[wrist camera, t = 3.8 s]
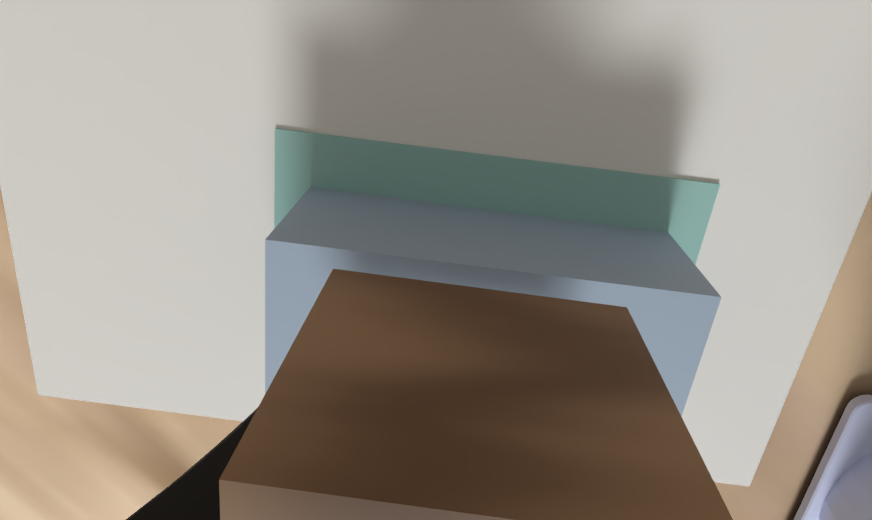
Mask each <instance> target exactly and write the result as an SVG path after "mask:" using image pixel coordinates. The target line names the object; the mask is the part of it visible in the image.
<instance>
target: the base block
mask: <svg viewBox="0 0 872 520" xmlns="http://www.w3.org/2000/svg"><path fill="white" fill-rule="evenodd" d="M333 269H340V270H348V271H355V272H363V273H370V274H378V275H386V276H393V277H401V278H408V279H416V280H424V281H431V282H439V283H446V284H454V285H462V286H469V287H477V288H484V289H492V290H500V291H507V292H515V293H522V294H530V295H538V296H545V297H553V298H560V299H568V300H576V301H583V302H591V303H598V304H606V305H613V306H621V307H627V308H628V310H629V312H630V314H631V316H632V318H633V321H634V323H635V325H636V327H637V329H638V331H639V333H640V335H641V337H642V339H643V341H644V343H645V345H646V347H647V349H648V351H649V353H650V355H651V357H652V359H653V361H654V363H655V365H656V367H657V369H658V371H659V373H660V375H661V377H662V379H663V381H664V383H665V385H666V387H667V389H668V391H669V393H670V395H671V397H672V399H673V401H674V403H675V405H676V407H677V409H678V411H679V413H680V415H681V416H682V413H683V410H684V407H685V404H686V401H687V398H688V395H689V393H690V390H691V387H692V384H693V381H694V378H695V375H696V372H697V369H698V366H699V363H700V360H701V357H702V354H703V351H704V348H705V345H706V342H707V339H708V336H709V333H710V330H711V327H712V324H713V321H714V318H715V315H716V312H717V309H718V306H719V303H720V300H721V298H722V297H721V296H720V295H719V293H718V292H717V291H716V290H715V289H714V287H713V286H712V285H711V284H710V282H709V281H708V280H707V279H706V278H705V276H704V275H703V274H702V273H701V271H700V270H699V269H698V268H697V267H696V265H695V264H694V263H693V262H692V261H691V259H690V258H689V257H688V256H687V254H686V253H685V252H684V251H683V250H682V248H681V247H680V246H679V245H678V243H677V242H676V241H675V240H674V239H673V237H672V236H671V235H670V234H669V232H664V231H656V230H648V229H641V228H633V227H625V226H617V225H609V224H601V223H593V222H585V221H577V220H569V219H561V218H553V217H545V216H537V215H529V214H521V213H513V212H505V211H497V210H489V209H481V208H473V207H465V206H458V205H450V204H442V203H434V202H426V201H418V200H410V199H402V198H394V197H386V196H378V195H370V194H362V193H354V192H346V191H338V190H330V189H322V188H314V187H310V188H309V189H308V190H307V191H306V192H305V194H304V195H303V196H302V197H301V198H300V199H299V201H298V202H297V203H296V204H295V205H294V206H293V208H292V209H291V210H290V211H289V212H288V213H287V215H286V216H285V217H284V218H283V219H282V220H281V222H280V223H279V224H278V225H277V226H276V227H275V229H274V230H273V231H272V232H271V233H270V234H269V236H268V237H267V238H266V239H265V394H266V392H267V390H268V388H269V386H270V384H271V383H272V381H273V379H274V377H275V375H276V373H277V371H278V370H279V368H280V366H281V364H282V362H283V360H284V359H285V357H286V355H287V353H288V351H289V349H290V347H291V346H292V344H293V342H294V340H295V338H296V336H297V335H298V333H299V331H300V329H301V327H302V325H303V323H304V322H305V320H306V318H307V316H308V314H309V312H310V310H311V309H312V307H313V305H314V303H315V301H316V299H317V298H318V296H319V294H320V292H321V290H322V288H323V286H324V285H325V283H326V281H327V279H328V277H329V275H330V273H331V272H332V270H333Z"/></svg>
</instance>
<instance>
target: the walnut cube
mask: <svg viewBox="0 0 872 520" xmlns="http://www.w3.org/2000/svg"><path fill="white" fill-rule="evenodd" d="M219 496H220V520H733V519H732V517H731V515H730V513H729V511H728V509H727V507H726V505H725V503H724V501H723V499H722V497H721V495H720V493H719V491H718V489H717V487H716V485H715V483H714V481H713V479H712V477H711V475H710V473H709V471H708V469H707V467H706V465H705V463H704V461H703V459H702V457H701V455H700V453H699V451H698V449H697V447H696V445H695V443H694V441H693V439H692V437H691V435H690V433H689V431H688V429H687V427H686V425H685V423H684V421H683V419H682V417H681V415H680V413H679V411H678V409H677V407H676V405H675V403H674V401H673V399H672V397H671V395H670V393H669V391H668V389H667V387H666V385H665V383H664V381H663V379H662V377H661V375H660V373H659V371H658V369H657V367H656V365H655V363H654V361H653V359H652V357H651V355H650V353H649V351H648V349H647V347H646V345H645V343H644V341H643V339H642V337H641V335H640V333H639V331H638V329H637V327H636V325H635V323H634V321H633V318H632V316H631V314H630V312H629V310H628V308H627V307H621V306H613V305H606V304H598V303H591V302H583V301H576V300H568V299H560V298H553V297H545V296H538V295H530V294H522V293H515V292H507V291H500V290H492V289H484V288H477V287H469V286H462V285H454V284H446V283H439V282H431V281H424V280H416V279H408V278H401V277H393V276H386V275H378V274H370V273H363V272H355V271H348V270H340V269H333V270H332V272H331V273H330V275H329V277H328V279H327V281H326V283H325V285H324V286H323V288H322V290H321V292H320V294H319V296H318V298H317V299H316V301H315V303H314V305H313V307H312V309H311V310H310V312H309V314H308V316H307V318H306V320H305V322H304V323H303V325H302V327H301V329H300V331H299V333H298V335H297V336H296V338H295V340H294V342H293V344H292V346H291V347H290V349H289V351H288V353H287V355H286V357H285V359H284V360H283V362H282V364H281V366H280V368H279V370H278V371H277V373H276V375H275V377H274V379H273V381H272V383H271V384H270V386H269V388H268V390H267V392H266V394H265V396H264V397H263V399H262V401H261V403H260V405H259V407H258V408H257V410H256V412H255V414H254V416H253V418H252V420H251V421H250V423H249V425H248V427H247V429H246V431H245V433H244V434H243V436H242V438H241V440H240V442H239V444H238V445H237V447H236V449H235V451H234V453H233V455H232V457H231V458H230V460H229V462H228V464H227V466H226V468H225V470H224V471H223V473H222V475H221V477H220V479H219Z"/></svg>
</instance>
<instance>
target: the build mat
mask: <svg viewBox="0 0 872 520" xmlns="http://www.w3.org/2000/svg"><path fill="white" fill-rule="evenodd" d="M0 186H1V191H2V197H3V202H4V208H5V213H6V219H7V225H8V230H9V236H10V241H11V247H12V252H13V258H14V264H15V269H16V275H17V280H18V286H19V291H20V297H21V302H22V308H23V314H24V319H25V325H26V330H27V336H28V341H29V347H30V353H31V358H32V364H33V369H34V375H35V380H36V386H37V391H38V395H43V396H50V397H58V398H66V399H74V400H81V401H89V402H97V403H105V404H112V405H120V406H128V407H136V408H144V409H151V410H159V411H167V412H175V413H182V414H190V415H198V416H206V417H213V418H221V419H229V420H237V421H244V420H245V419H246V418H247V417H248V416H249V415H250V414H251V413H253V412H254V411H255V410H256V409H257V408H258V407H259V405H260V403H261V401H262V399H263V397H264V396H265V239H266V238H267V237H268V236H269V234H270V233H271V232H272V231H273V230H274V229H275V227H276V226H277V225H278V224H279V223H280V222H281V220H282V219H283V218H284V217H285V216H286V215H287V213H288V212H289V211H290V210H291V209H292V208H293V206H294V205H295V204H296V203H297V202H298V201H299V199H300V198H301V197H302V196H303V195H304V194H305V192H306V191H307V190H308V189H309V188H310V187H314V188H322V189H330V190H338V191H346V192H354V193H362V194H370V195H378V196H386V197H394V198H402V199H410V200H418V201H426V202H434V203H442V204H450V205H458V206H465V207H473V208H481V209H489V210H497V211H505V212H513V213H521V214H529V215H537V216H545V217H553V218H561V219H569V220H577V221H585V222H593V223H601V224H609V225H617V226H625V227H633V228H641V229H648V230H656V231H664V232H669V234H670V235H671V236H672V237H673V239H674V240H675V241H676V242H677V243H678V245H679V246H680V247H681V248H682V250H683V251H684V252H685V253H686V254H687V256H688V257H689V258H690V259H691V261H692V262H693V263H694V264H695V265H696V267H697V268H698V269H699V270H700V271H701V273H702V274H703V275H704V276H705V278H706V279H707V280H708V281H709V282H710V284H711V285H712V286H713V287H714V289H715V290H716V291H717V292H718V293H719V295H720V296H721V297H722V298H721V300H720V303H719V306H718V309H717V312H716V315H715V318H714V321H713V324H712V327H711V330H710V333H709V336H708V339H707V342H706V345H705V348H704V351H703V354H702V357H701V360H700V363H699V366H698V369H697V372H696V375H695V378H694V381H693V384H692V387H691V390H690V393H689V395H688V398H687V401H686V404H685V407H684V410H683V413H682V416H681V417H682V419H683V421H684V423H685V425H686V427H687V429H688V431H689V433H690V435H691V437H692V439H693V441H694V443H695V445H696V447H697V449H698V451H699V453H700V455H701V457H702V459H703V461H704V463H705V465H706V467H707V469H708V471H709V473H710V475H711V477H712V479H713V481H714V482H718V483H726V484H734V485H742V486H750V484H751V481H752V479H753V477H754V474H755V472H756V469H757V467H758V465H759V462H760V460H761V457H762V455H763V453H764V450H765V448H766V445H767V443H768V441H769V438H770V436H771V433H772V431H773V428H774V426H775V424H776V421H777V419H778V416H779V414H780V412H781V409H782V407H783V404H784V402H785V400H786V397H787V395H788V392H789V390H790V388H791V385H792V383H793V380H794V378H795V375H796V373H797V371H798V368H799V366H800V363H801V361H802V359H803V356H804V354H805V351H806V349H807V347H808V344H809V342H810V339H811V337H812V335H813V332H814V330H815V327H816V325H817V323H818V320H819V318H820V315H821V313H822V310H823V308H824V306H825V303H826V301H827V298H828V296H829V294H830V291H831V289H832V286H833V284H834V282H835V279H836V277H837V274H838V272H839V270H840V267H841V265H842V262H843V260H844V258H845V255H846V253H847V250H848V248H849V245H850V243H851V241H852V238H853V236H854V233H855V231H856V229H857V226H858V224H859V221H860V219H861V217H862V214H863V212H864V209H865V207H866V205H867V202H868V200H869V197H870V195H871V192H872V0H0Z"/></svg>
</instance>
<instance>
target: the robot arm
mask: <svg viewBox="0 0 872 520" xmlns="http://www.w3.org/2000/svg"><path fill="white" fill-rule="evenodd" d="M256 410H257V409H256ZM256 410H255V411H254V412H253V413H251V414H250V415H249V416H248V417H247V418H246V419H245V420H244V421H243V422H242V423H241V424H240V425H239V426H238V427H236V428H235V429H234V430H233V431H232V432H231V433H230V434H229V435H228V436H227V437H226V438H224V439H223V440H222V441H221V442H220V443H219V444H218V445H217V446H216V447H214V448H213V449H212V450H211V451H210V452H209V453H207V454H206V455H205V456H204V457H203V458H202V459H200V460H199V461H198V462H197V463H196V464H195V465H194V466H192V467H191V468H190V469H189V470H188V471H187V472H185V473H184V474H183V475H182V476H181V477H179V478H178V479H177V480H176V481H175V482H173V483H172V484H171V485H170V486H168V487H167V488H166V489H165V490H163V491H162V492H161V493H160V494H158V495H157V496H156V497H154V498H153V499H152V500H151V501H149V502H148V503H147V504H145V505H144V506H143V507H142V508H140V509H139V510H138V511H136V512H135V513H134V514H133V515H131V516H130V517H129V518H127V519H126V520H220V496H219V479H220V477H221V475H222V473H223V471H224V470H225V468H226V466H227V464H228V462H229V460H230V458H231V457H232V455H233V453H234V451H235V449H236V447H237V445H238V444H239V442H240V440H241V438H242V436H243V434H244V433H245V431H246V429H247V427H248V425H249V423H250V421H251V420H252V418H253V416H254V414H255V412H256ZM794 520H872V395H860V396H858V397H855V398H854V399H852V400H851V401H850V402H849V403H848V405H847V406H846V408H845V410H844V413H843V415H842V417H841V419H840V421H839V423H838V425H837V428H836V430H835V432H834V434H833V436H832V438H831V440H830V443H829V445H828V447H827V449H826V451H825V453H824V456H823V458H822V460H821V462H820V464H819V466H818V468H817V471H816V473H815V475H814V477H813V479H812V481H811V483H810V486H809V488H808V490H807V492H806V494H805V496H804V498H803V501H802V503H801V505H800V507H799V509H798V511H797V513H796V516H795V518H794Z"/></svg>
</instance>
